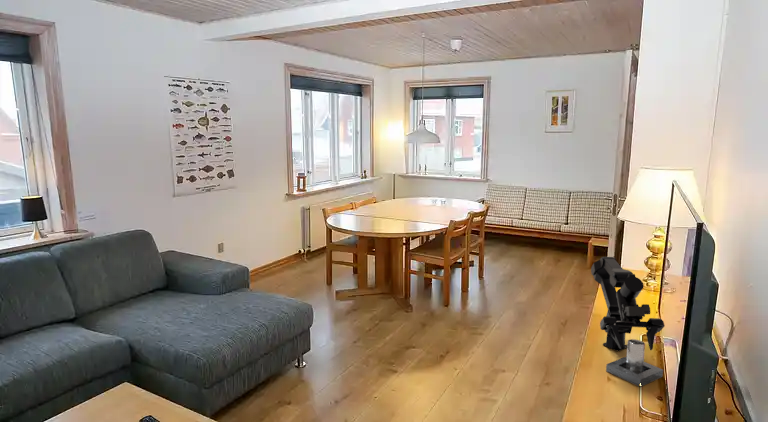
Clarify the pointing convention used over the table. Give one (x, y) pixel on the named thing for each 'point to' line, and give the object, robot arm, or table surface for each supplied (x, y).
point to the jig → (644, 378)
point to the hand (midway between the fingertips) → (636, 349)
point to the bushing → (635, 356)
